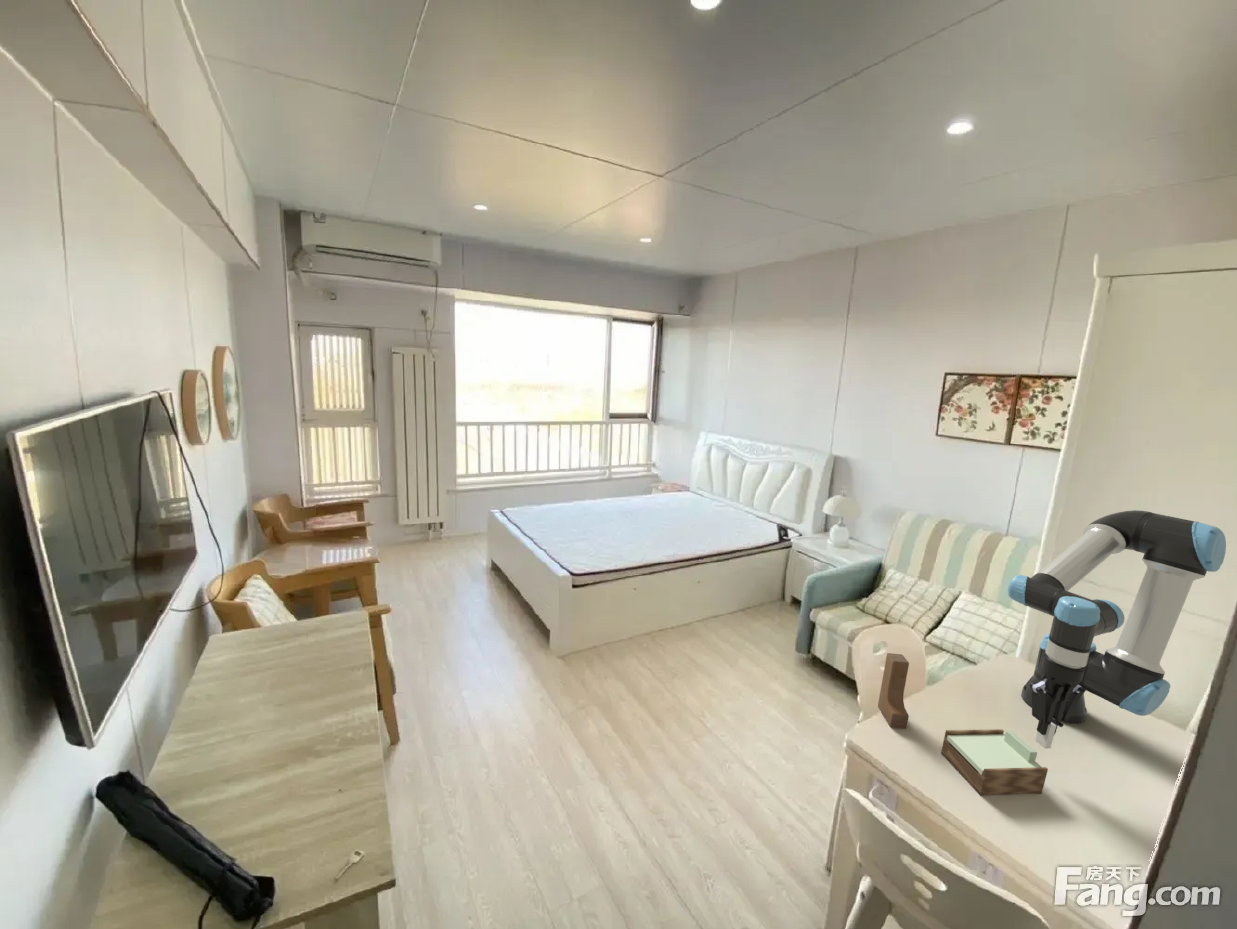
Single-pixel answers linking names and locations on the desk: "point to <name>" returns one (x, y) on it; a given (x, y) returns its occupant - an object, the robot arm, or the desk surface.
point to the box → (994, 771)
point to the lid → (995, 751)
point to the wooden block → (894, 691)
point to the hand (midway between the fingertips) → (1042, 744)
